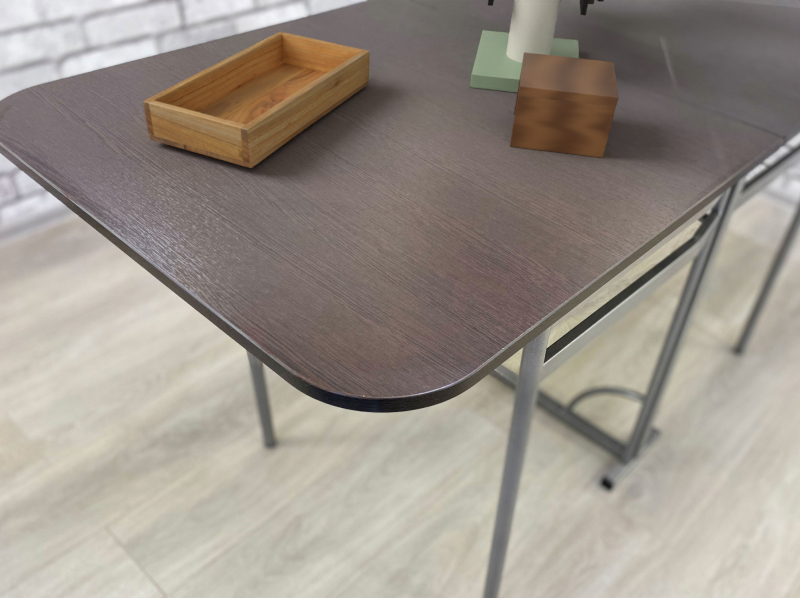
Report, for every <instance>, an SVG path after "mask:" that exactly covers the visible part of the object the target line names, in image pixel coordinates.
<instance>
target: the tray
mask: <svg viewBox="0 0 800 598" xmlns="http://www.w3.org/2000/svg"><path fill="white" fill-rule="evenodd" d="M370 54H371V50H367V49H363V48H358V47H354V46H349V45H346V44H345V45H344V44H339V43H336V42H330V41H326V40H321V39H317V38H312V37H308V36H303V35H298V34H293V33H289V32H284V31H279V32H276V33H274V34H272V35H270V36H268V37H266V38H265V39H263V40H261V41H259V42H256V43H255V44H253V45H251V46H249V47H246V48H244V49H243V50H240V51H239V52H237V53H235V54H233V55H231V56H229V57H226V58H225V59H223V60H221V61H218V62H217V63H215V64H213V65H211V66H209V67H208V68H205V69H204V70H202V71H199V72H197V73H195V74H194V75H192V76H190V77H188V78H186V79H183V80H182V81H180V82H177V83H176V84H174V85H172V86H170V87H168V88H166V89H163V90H162V91H161V92H158V93H156V94H155V95H152V96H150V97H148V98H146V99H145V100H144V101H142V104H143V111H144V116H145V117H144V118H145V122H146V128H147V129H146V130H147V133H148V137H149V139H150V140H151V141H153V142H158V143H160V144H164V145H168V146H171V147H175V148H178V149H181V150H186V151H189V152H193V153H197V154H200V155H204V156H206V157H211V158H214V159H217V160H221V161H224V162H228V163H231V164H235V165H238V166H242V167H245V168H249V169H252V168H254V167H255V166H257V165H258V164H260V163H261V162H262V161H263V160H265V159H266V158H267V157H268V156H270V155H271V154H272V153H274V152H276V151H277V150H279V148H281V147H282V146H283V145H285V144H287V143H288V142H289V141H290V140H292V139H294V138H295V137H296V136H297V135H299V134H301V133H302V132H303V131H305V130H306V129H307V128H309V127H310V126H312V125H313V124H314V123H316V122H317V121H318V120H320V119H321V118H323V117H324V116H326V115H327V114H328V113H330V112H331V111H333V110H334V109H335V108H337V107H338V106H340V105H341V104H343V103H344V102H346V101H347V100H348V99H350V98H351V97H353V96H355V95H356V94H357V93H359V92H360V91H361V90H362V89H364V88H366V87H367V86H368V85H369V82H370V81H369V80H370V58H371V57H370Z"/></svg>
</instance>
